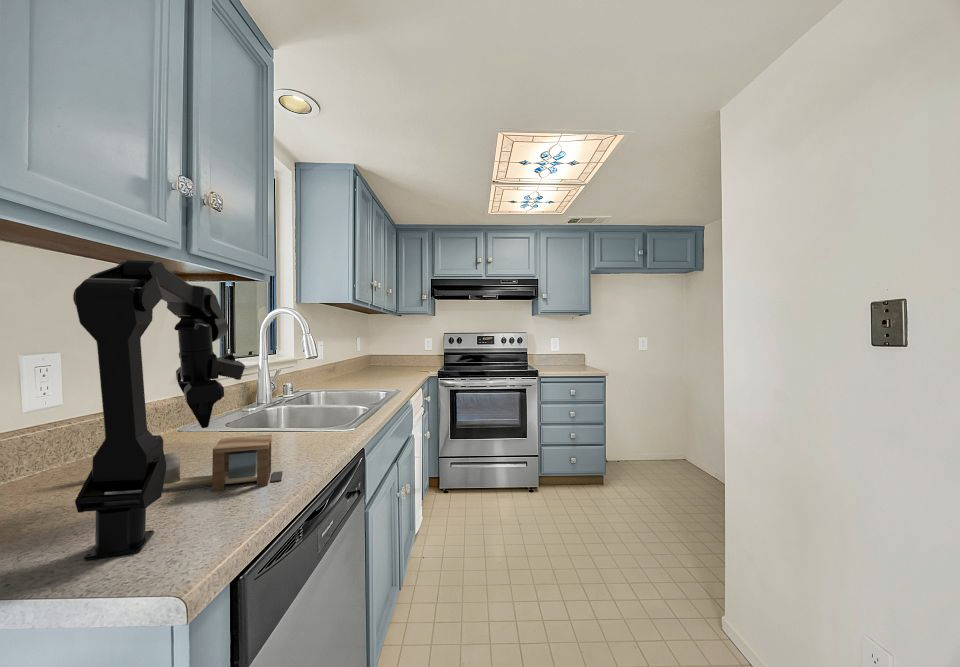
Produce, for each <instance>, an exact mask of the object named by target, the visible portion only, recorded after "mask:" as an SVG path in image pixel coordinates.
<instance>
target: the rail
mask: <svg viewBox="0 0 960 667" xmlns="http://www.w3.org/2000/svg"><path fill="white" fill-rule="evenodd" d="M270 477H271V474H270V473H268V481H269V480H270V479H271V478H270ZM249 482H251V483H252V482H254V481H247V482H246V483H249ZM255 482H257V480H256V481H255ZM242 483H243V484H244V483H245V482H237V483H228V484H225V485H233V484H242ZM205 487H206V488H207V487H212V483H208V484H198V485H189V486H179V487H170V488H163V490H162V492H168V491H169V492H170V491H177V490H187V489H197V488H205ZM141 491H142V490H132V491H116V492H105V494H104V495H112V494H128V493H141Z"/></svg>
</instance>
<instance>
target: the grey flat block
mask: <svg viewBox="0 0 960 667" xmlns="http://www.w3.org/2000/svg"><path fill="white" fill-rule="evenodd" d="M283 474H284V472H283V471H282V470H280V471H273V472H272V475H271V478H270V483H277V482H278V483H279V482H282V477H283Z"/></svg>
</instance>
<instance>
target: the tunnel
mask: <svg viewBox="0 0 960 667" xmlns="http://www.w3.org/2000/svg"><path fill="white" fill-rule="evenodd" d="M246 450H257V481H256V487H265V486H268V485H269V480H268V474H270V473H272V434H263V435H250V436H249V435H248V436H246V435H245V436H237V437H235V436H234V437H223V438H220V440H219V441H218V442H217V443H216V445H214V447H213V448H212V474H211V475H212V486H211V488H212V489H211V490H212V491H211V492H212V493H213V492H221V491H225V472H229V454H230V452H234V451H246Z"/></svg>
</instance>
